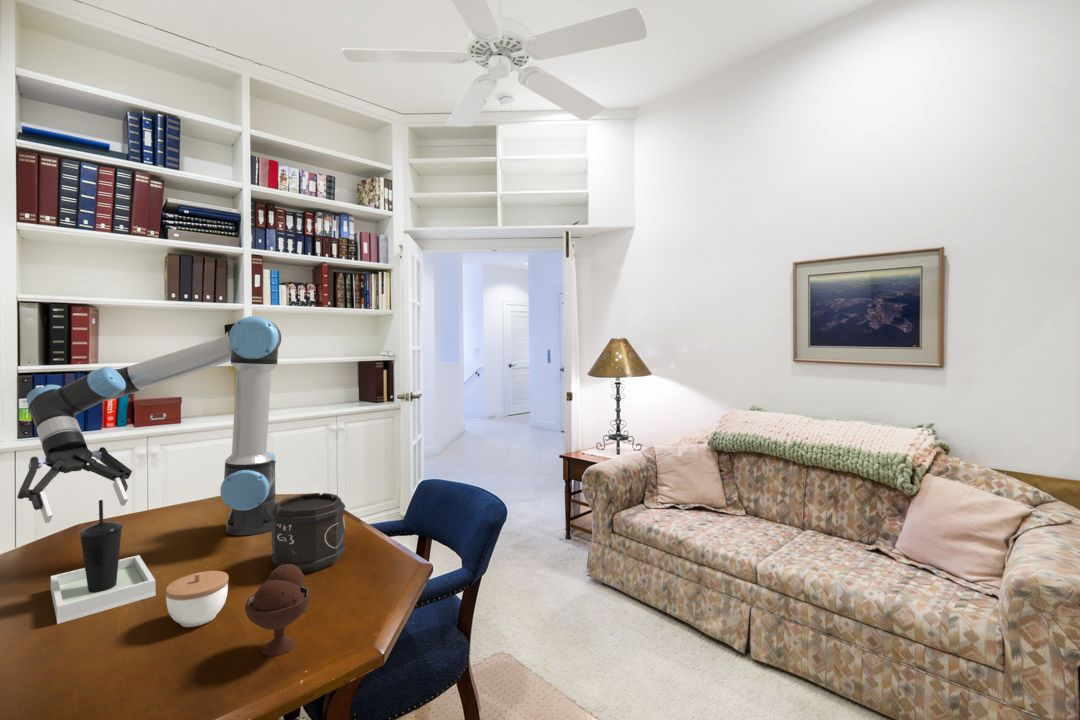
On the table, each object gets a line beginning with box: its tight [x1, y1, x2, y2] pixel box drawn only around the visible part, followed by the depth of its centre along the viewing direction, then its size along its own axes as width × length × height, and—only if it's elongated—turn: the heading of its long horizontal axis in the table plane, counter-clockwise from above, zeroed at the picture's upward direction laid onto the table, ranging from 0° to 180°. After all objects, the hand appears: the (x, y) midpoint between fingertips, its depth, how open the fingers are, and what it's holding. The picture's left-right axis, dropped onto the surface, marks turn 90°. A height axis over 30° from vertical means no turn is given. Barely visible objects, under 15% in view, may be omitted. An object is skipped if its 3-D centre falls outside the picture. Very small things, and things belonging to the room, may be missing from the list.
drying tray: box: [50, 554, 157, 625], centre depth 114 cm, size 20×16×4 cm
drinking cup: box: [78, 499, 124, 593], centre depth 114 cm, size 8×8×20 cm
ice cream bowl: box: [244, 564, 311, 657], centre depth 93 cm, size 11×11×15 cm
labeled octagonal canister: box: [270, 492, 347, 574], centre depth 132 cm, size 18×18×16 cm
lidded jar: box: [165, 570, 229, 628], centre depth 103 cm, size 11×11×9 cm
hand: (88, 510), depth 116 cm, fingers open, 13 cm apart
